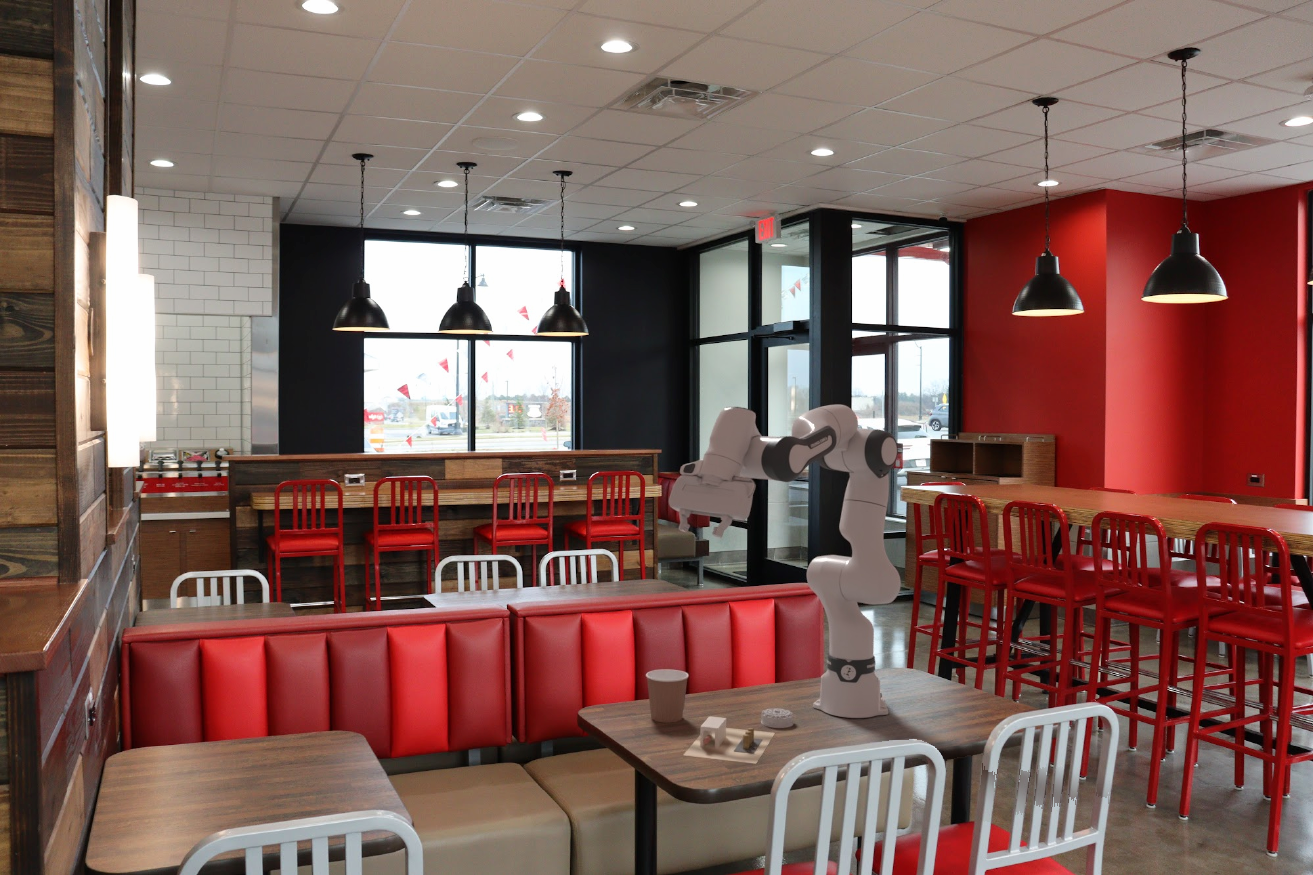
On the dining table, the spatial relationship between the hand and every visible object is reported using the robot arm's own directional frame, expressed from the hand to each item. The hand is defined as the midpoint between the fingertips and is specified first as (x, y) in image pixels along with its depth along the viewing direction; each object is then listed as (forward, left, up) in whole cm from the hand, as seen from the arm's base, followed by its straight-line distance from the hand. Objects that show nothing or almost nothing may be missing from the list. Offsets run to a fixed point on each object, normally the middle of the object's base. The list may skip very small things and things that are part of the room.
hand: (699, 533), depth 220 cm
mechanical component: (-28, +12, -50) cm, 58 cm away
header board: (-9, +5, -49) cm, 50 cm away
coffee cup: (-23, -14, -49) cm, 56 cm away
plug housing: (-8, +1, -48) cm, 48 cm away
